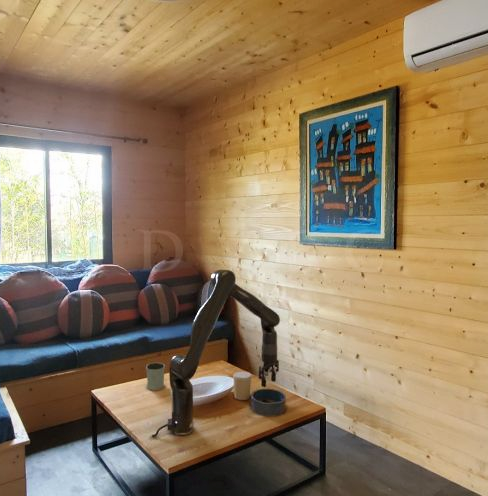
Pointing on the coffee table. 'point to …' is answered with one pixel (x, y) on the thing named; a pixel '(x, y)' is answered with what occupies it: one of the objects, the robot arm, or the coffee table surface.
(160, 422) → the coffee table surface
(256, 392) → the bowl
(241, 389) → the coffee cup
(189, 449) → the coffee table surface
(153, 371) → the green cylindrical pot
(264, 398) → the stick
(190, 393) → the robot arm
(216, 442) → the coffee table surface
